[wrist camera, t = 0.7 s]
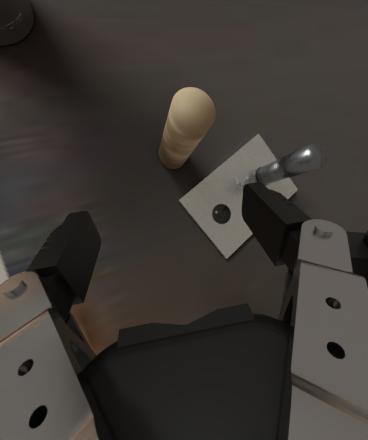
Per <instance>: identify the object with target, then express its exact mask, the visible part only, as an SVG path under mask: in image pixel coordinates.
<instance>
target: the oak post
mask: <svg viewBox="0 0 368 440" xmlns="http://www.w3.org/2000/svg"><path fill="white" fill-rule="evenodd" d="M215 116H216V111H215V106H214V103H213V101H212V100H211V98H210V97H209V96H208V95H207V94H206V93H205V92H204V91H202V90H200V89H198V88H194V87H187V88H183V89H181V90H179V91H178V92H177V93H176V94H175V96H174V97H173V99H172V103H171V106H170V110H169V114H168V117H167V121H166V125H165V129H164V132H163V136H162V140H161V143H160V147H159V151H158V157H159V160H160V162H161V163H162V164H163V165H164V166H165V167H167V168H169V169H177V168H180V167H181V166H182V165H183V164H184V163H185V161H186V160H187V159H188V157H189V156H190V155H191V153H192V152H193V151H194V149H195V148H196V147H197V145H198V144H199V142H200V141H201V140H202V138H203V137H204V136H205V134H206V133H207V132H208V130H209V129H210V128H211V126H212V125H213V123H214V121H215Z"/></svg>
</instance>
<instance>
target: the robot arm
mask: <svg viewBox="0 0 368 440" xmlns="http://www.w3.org/2000/svg"><path fill="white" fill-rule="evenodd" d="M33 21H34V15H33V10H32V6H31V4H30V2H29V0H0V45H9V44H13V43H16V42H19V41H20V40H22V39H23V38H25V37H26V36H27V35H28V33H29V32H30V30H31V28H32V26H33ZM241 211H242V217H243V220H244V222H245V223H246V224H247V226H248V227H249V229H250V230H251V232H252V233H253V235H254V236H255V237H256V239H257V240H258V242H259V243H260V245H261V246H262V248H263V249H264V251H265V252H266V253H267V255H268V256H269V258H270V259H271V261H272V262H273V264H274V265H275V266H279V265H284V264H286V266H287V267H288V270H287V273H286V279H285V286H284V292H283V298H282V305H281V310H280V314H279V318H278V320H277V319H275V318H273V317H269V316H266V315H262V314H257V313H252V312H251V309H250V307H249V305H248V303H247V304H242V305H237V306H232V307H228V308H223V309H218V310H215V311H213V312H211V313H209V314H207V315H205V316H203V317H201V318H199V319H198V320H196V321H194V322H192V323H190V324H187V325H175V324H160V323H149V324H144V325H139V326H134V327H129V328H124V329H120V330H119V336H118V341H117V342H115V343H113V344H112V345H110V346H109V347H107V348H106V349H104V350H103V351H102V352H101V353H99V354H98V355H97V356H96V354H95V353H94V352H93V350H92V349H91V347H90V346H89V344H88V342H87V340H86V339H85V337H84V335H83V333H82V331H81V329H80V328H79V326H78V324H77V322H76V320H75V318H74V317H73V315H72V313H71V312H70V309H71V306H72V305H74V304H80V303H84V300H85V296H86V293H87V290H88V287H89V283H90V280H91V277H92V273H93V270H94V267H95V263H96V260H97V257H98V253H99V250H100V247H101V239H100V235H99V233H98V231H97V229H96V227H95V225H94V223H93V220H92V218H91V216H90V214H89V213H88V212H87V211H81V212H75V213H70V214H68V216H67V217H66V219H65V221H64V222H63V224H62V225H60V226H59V227H57V228H56V229H55V230H54V231H53V232H52V233H51V234H50V236H49V237H48V239H47V240H46V241H47V242H45V243H44V245H43V246H42V249H40V251H39V252H38V254H37V255H36V257H35V258H34V260H33V261H32V263H31V264H30V266H29V267H28V269H27V270H26V272H22V273H19V274H17V275H14V276H12V277H11V278H9V279H7V280H6V281H4V282H3V283H2V284H0V440H368V231H367V233H358V232H345V230H344V229H343V228H341V227H340V226H338V225H337V224H334V223H332V222H329V221H325V220H319V219H313V220H312V219H311V218H310V217H308V216H307V215H306V214H305V213H304V212H302V211H301V210H300V209H299V208H298V207H297V206H295V205H293V203H292V202H291V201H289V200H287V198H286V197H285V196H283V195H282V194H281V193H279V192H276V191H274V190H272V189H270V190H269V189H268V188H267V187H266V186H265V185H264V184H262V183H261V182H255V183H249V184H245V185H244V187H243V197H242V210H241Z"/></svg>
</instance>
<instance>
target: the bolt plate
mask: <svg viewBox="0 0 368 440" xmlns="http://www.w3.org/2000/svg"><path fill="white" fill-rule="evenodd" d="M326 161H327V152H326V150H325V148H324V147H323V146H322V145H321V144H319V143H312V144H310V145H308V146H306V147H304V148H302V149H299V150H297V151H295V152H293V153H291V154H289V155H287V156H284V157H282V158H280V159H278V160H277V159H276V158H275V156H274V155H273V154H272V152H271V151H270V149H269V148H268V146H267V145H266V144H265V142H264V141H263V139H262V138H261V137H260V135H259V134H258V135H256V136H255V137H254V138H252V139H251V140H250V141H249V142H248V143H247V144H245V145H244V146H243V147H242V148H241V149H239V150H238V151H237V152H236V153H235V154H233V155H232V156H231V157H230V158H229V159H227V160H226V161H225V162H224V163H223V164H221V165H220V166H219V167H218V168H217V169H215V170H214V171H213V172H212V173H211V174H209V175H208V176H207V177H206V178H205V179H203V180H202V181H201V182H200V183H199V184H197V185H196V186H195V187H194V188H193V189H191V190H190V191H189V192H188V193H187V194H185V195H184V196H183V197H182V198H181V199H179V200H178V202H179V203H180V205H181V206H182V207H183V208H184V210H185V211H186V212H187V213H188V214H189V216H190V217H191V218H192V219H193V221H194V222H195V223H196V224H197V225H198V227H199V228H200V229H201V230H202V232H203V233H204V234H205V235H206V237H207V238H208V239H209V240H210V241H211V243H212V244H213V245H214V246H215V248H216V249H217V250H218V251H219V252H220V254H221V255H222V256H223V257H224V258H225V259H227V258H228V257H229V256H230V255H231V254H232V253H234V252H235V251H236V250H237V249H238V248H239V247H240V246H241V245H242V244H243V243H244V242H245V241H246V240H247V239H248V238H249V237H250V236H251V235H252V234H253V233H252V232H251V230H250V229H249V227H248V226H247V224H246V223H245V222H244V220H243V217H242V211H241V210H242V197H243V187H244V185H245V184H249V183H255V182H261V183H262V184H264V185H265V186H266V187H267V188H268V189H269V190H270V189H272V190H274V191H276V192H279V193H281V194H282V195H283V196H285V197H286V198H287V200H288V199H289V198H290V197H291V196H292V195H293V194H294V193H295V192H296V191H297V190H298V189H297V188H296V186H295V185H294V183H293V182H292V181H291V179H290V178H289V177H292V176H295V175H299V174H302V173H305V172H308V171H311V170H314V169H318V168H321V167H323V166H324V165H325V163H326Z"/></svg>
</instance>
